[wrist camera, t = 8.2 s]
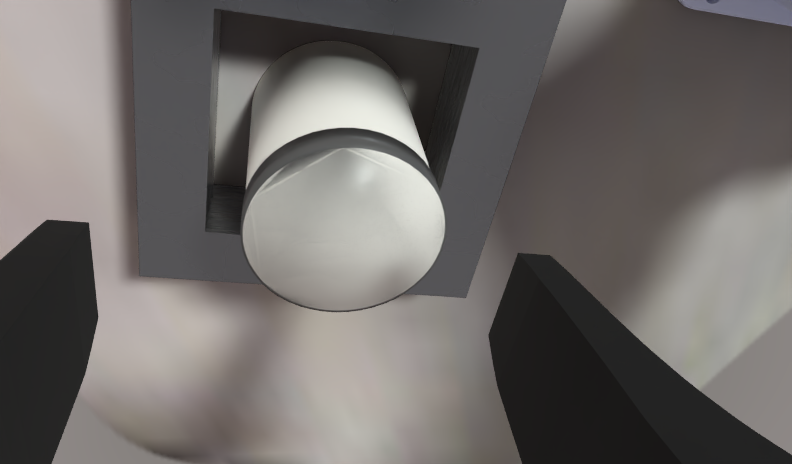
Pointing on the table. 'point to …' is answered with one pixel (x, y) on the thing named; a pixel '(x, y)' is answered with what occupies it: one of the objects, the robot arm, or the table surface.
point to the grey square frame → (348, 8)
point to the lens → (337, 182)
